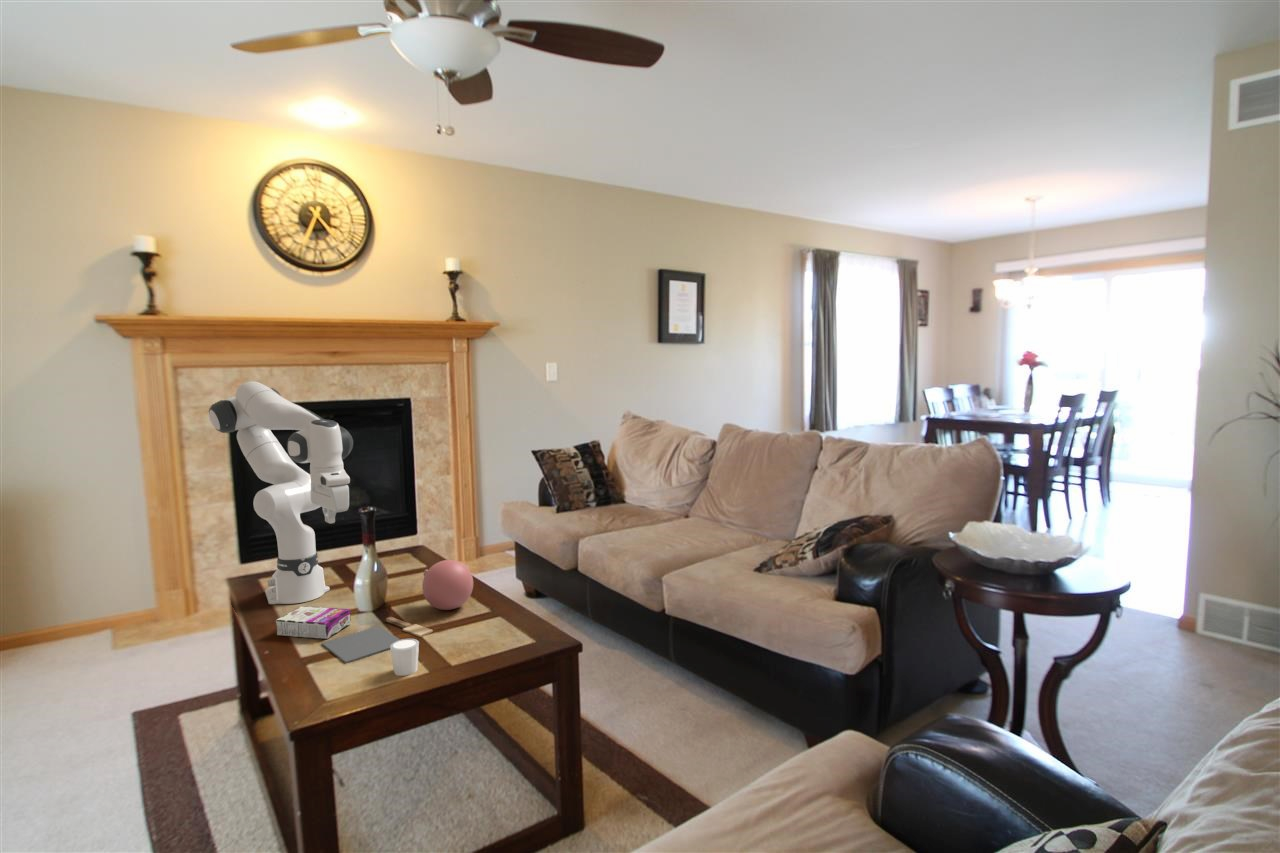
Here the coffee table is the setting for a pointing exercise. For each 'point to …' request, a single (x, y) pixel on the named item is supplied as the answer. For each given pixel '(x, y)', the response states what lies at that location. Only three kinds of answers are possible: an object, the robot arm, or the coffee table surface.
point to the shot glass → (405, 656)
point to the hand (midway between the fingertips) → (330, 522)
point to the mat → (361, 644)
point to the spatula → (410, 627)
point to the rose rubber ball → (447, 584)
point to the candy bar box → (313, 622)
